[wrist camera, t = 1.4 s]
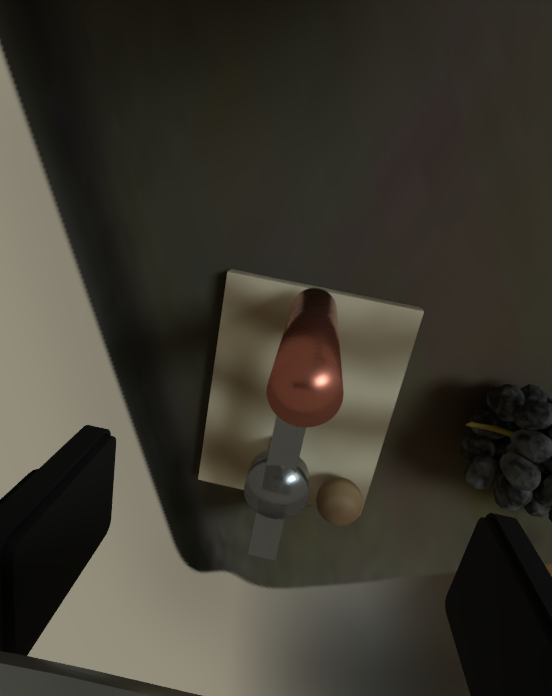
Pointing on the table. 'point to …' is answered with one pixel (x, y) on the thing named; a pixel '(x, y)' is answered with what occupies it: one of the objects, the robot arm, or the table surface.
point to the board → (256, 365)
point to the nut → (339, 501)
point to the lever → (295, 415)
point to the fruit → (513, 449)
